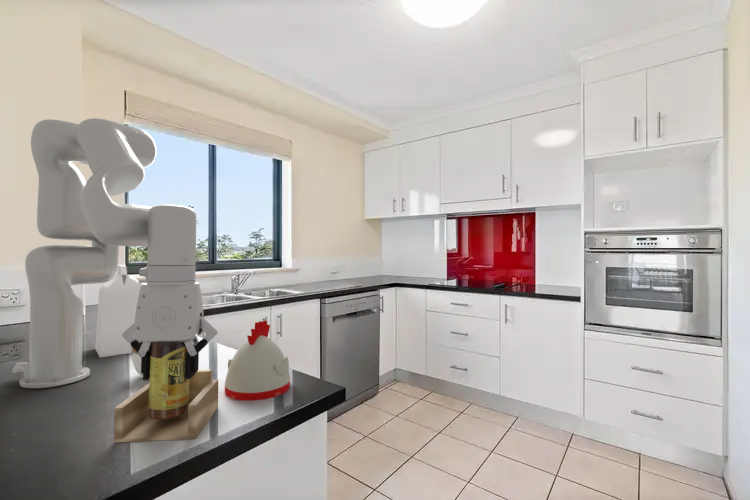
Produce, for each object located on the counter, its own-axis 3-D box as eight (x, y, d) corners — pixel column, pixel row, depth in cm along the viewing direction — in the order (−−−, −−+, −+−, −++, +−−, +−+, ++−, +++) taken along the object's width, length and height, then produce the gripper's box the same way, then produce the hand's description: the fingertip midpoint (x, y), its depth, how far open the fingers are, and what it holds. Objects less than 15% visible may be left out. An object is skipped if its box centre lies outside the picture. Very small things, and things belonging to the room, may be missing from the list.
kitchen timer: (299, 381, 88) (300, 318, 88) (270, 404, 75) (271, 329, 75) (247, 376, 91) (248, 315, 92) (210, 397, 78) (211, 325, 78)
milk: (95, 349, 115) (96, 265, 115) (138, 343, 122) (139, 264, 123) (99, 357, 106) (101, 266, 106) (146, 350, 114) (147, 265, 114)
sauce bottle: (171, 423, 62) (173, 304, 62) (139, 419, 63) (141, 302, 63) (197, 407, 68) (199, 299, 68) (167, 404, 69) (169, 298, 69)
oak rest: (113, 442, 59) (114, 395, 59) (150, 410, 71) (151, 371, 71) (195, 438, 61) (196, 392, 61) (217, 407, 73) (218, 369, 73)
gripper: (106, 276, 61) (104, 386, 61) (216, 277, 63) (214, 383, 63) (130, 273, 68) (129, 371, 68) (228, 274, 70) (226, 369, 70)
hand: (170, 376), depth 65 cm, fingers closed on sauce bottle, 6 cm apart
